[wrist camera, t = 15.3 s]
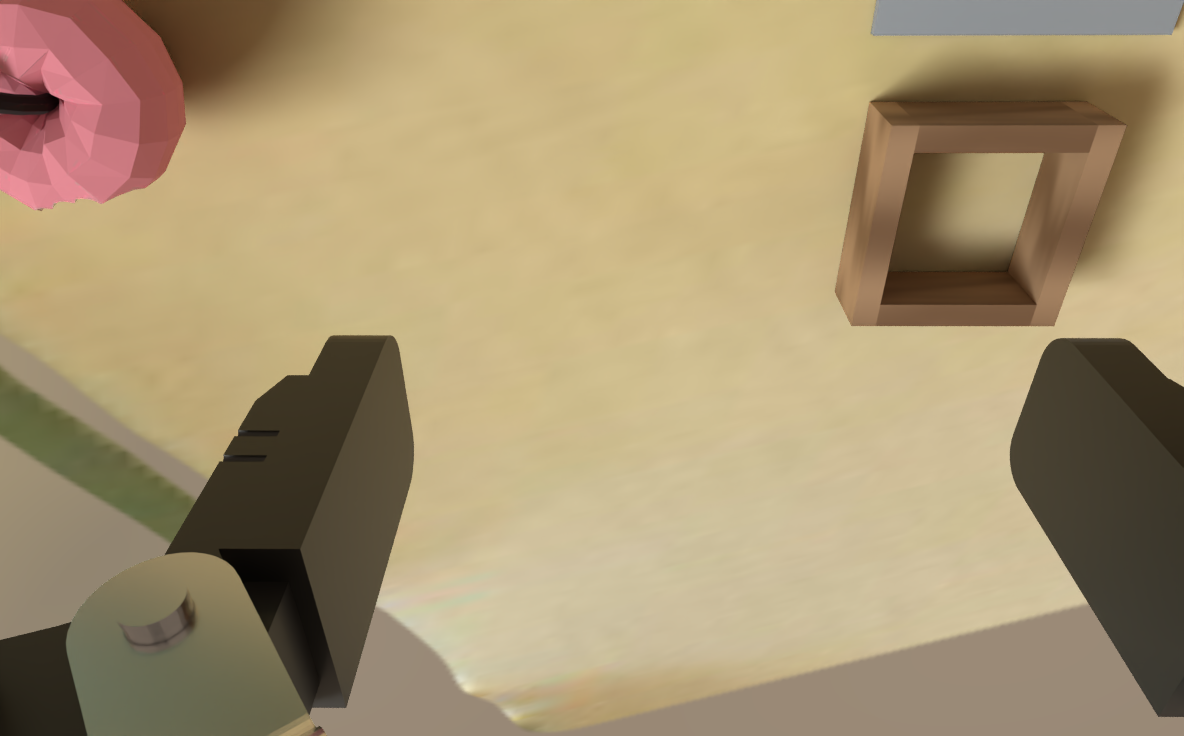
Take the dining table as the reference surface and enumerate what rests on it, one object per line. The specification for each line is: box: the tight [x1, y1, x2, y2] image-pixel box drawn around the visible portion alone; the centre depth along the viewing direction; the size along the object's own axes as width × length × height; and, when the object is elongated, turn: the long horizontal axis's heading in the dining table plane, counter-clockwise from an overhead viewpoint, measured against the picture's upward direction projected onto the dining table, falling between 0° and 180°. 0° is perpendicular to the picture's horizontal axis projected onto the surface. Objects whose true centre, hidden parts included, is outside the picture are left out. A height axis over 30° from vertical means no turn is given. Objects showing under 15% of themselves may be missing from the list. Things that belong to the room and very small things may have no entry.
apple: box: [0, 0, 186, 211], centre depth 33 cm, size 10×9×10 cm
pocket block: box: [835, 102, 1127, 326], centre depth 39 cm, size 10×10×4 cm
